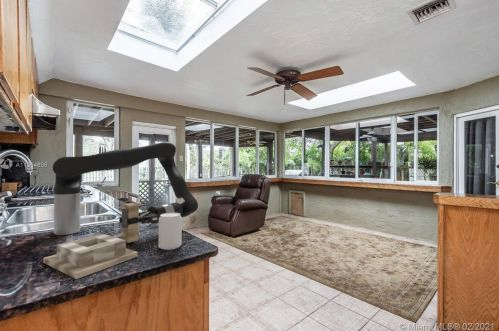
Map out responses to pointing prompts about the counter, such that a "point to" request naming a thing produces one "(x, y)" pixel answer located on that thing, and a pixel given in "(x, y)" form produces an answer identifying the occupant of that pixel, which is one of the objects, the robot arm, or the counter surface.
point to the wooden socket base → (89, 255)
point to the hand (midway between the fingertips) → (123, 221)
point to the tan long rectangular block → (131, 230)
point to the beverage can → (170, 231)
